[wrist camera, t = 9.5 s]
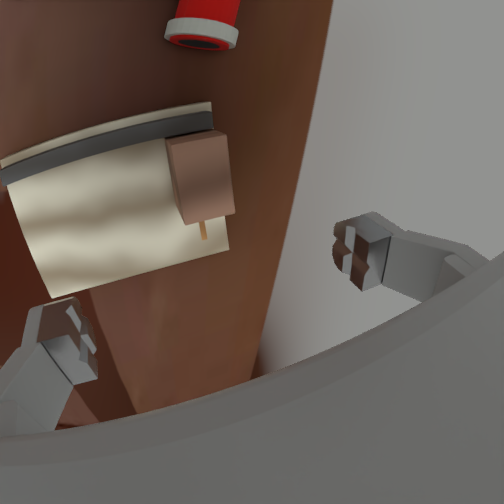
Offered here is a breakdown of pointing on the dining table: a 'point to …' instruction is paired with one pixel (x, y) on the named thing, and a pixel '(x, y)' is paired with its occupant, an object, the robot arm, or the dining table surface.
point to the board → (108, 201)
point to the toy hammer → (204, 24)
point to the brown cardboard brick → (200, 175)
